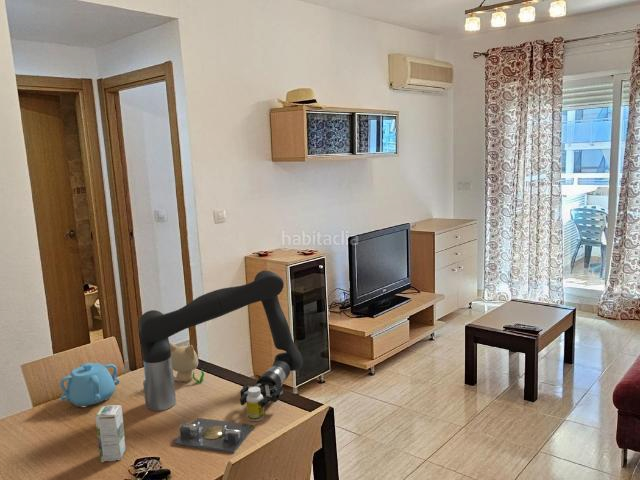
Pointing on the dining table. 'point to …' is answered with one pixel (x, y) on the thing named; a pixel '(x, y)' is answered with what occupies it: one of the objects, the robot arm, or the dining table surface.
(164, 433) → the dining table surface
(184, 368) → the kitten
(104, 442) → the syrup box
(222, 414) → the dining table surface
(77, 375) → the decorative pot
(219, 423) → the base
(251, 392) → the supplement bottle
